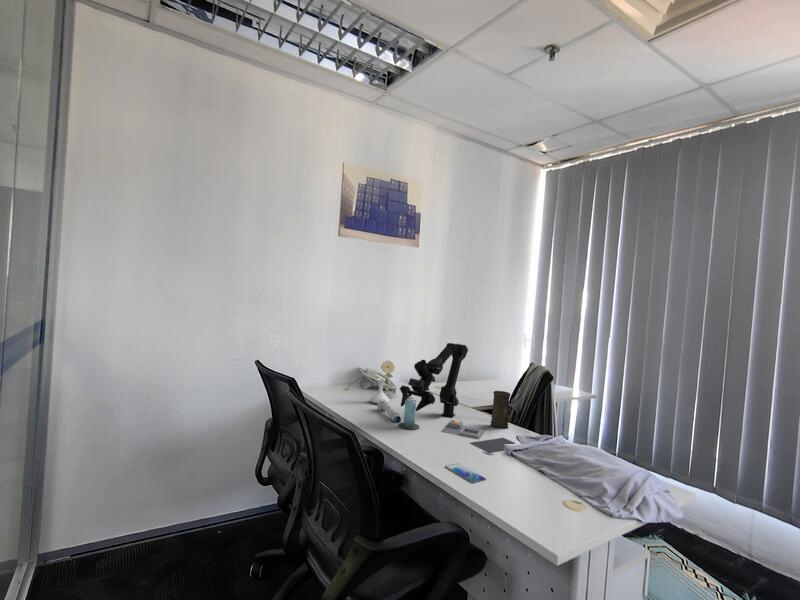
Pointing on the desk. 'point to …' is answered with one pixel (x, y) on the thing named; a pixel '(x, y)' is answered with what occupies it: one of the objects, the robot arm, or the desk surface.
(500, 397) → the container
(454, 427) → the housing
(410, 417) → the cartridge
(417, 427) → the pad
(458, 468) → the smartphone
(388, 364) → the flower in vase
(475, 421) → the desk surface
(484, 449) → the notebook
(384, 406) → the white tube
